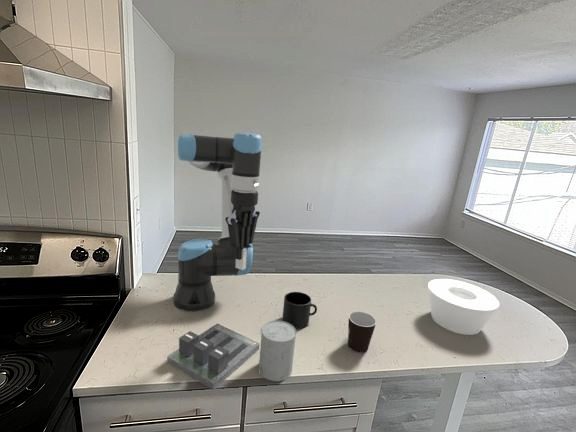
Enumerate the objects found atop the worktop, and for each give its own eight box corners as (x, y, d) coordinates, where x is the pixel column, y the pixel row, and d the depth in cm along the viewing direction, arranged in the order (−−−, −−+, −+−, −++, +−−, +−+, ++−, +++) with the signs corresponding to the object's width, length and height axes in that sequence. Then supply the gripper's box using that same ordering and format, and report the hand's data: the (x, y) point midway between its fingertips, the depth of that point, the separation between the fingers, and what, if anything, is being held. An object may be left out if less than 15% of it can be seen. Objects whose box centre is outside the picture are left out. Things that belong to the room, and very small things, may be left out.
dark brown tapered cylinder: (366, 358, 100) (371, 330, 97) (340, 347, 104) (344, 319, 101) (377, 340, 109) (382, 313, 107) (353, 330, 114) (357, 304, 111)
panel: (167, 362, 91) (167, 356, 90) (216, 328, 108) (217, 323, 107) (213, 390, 83) (213, 383, 82) (259, 349, 100) (259, 343, 99)
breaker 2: (193, 359, 90) (193, 344, 88) (204, 351, 93) (204, 337, 92) (202, 364, 88) (203, 349, 87) (213, 356, 91) (213, 342, 90)
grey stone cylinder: (258, 356, 96) (261, 320, 93) (290, 357, 97) (294, 321, 94) (258, 381, 87) (261, 341, 84) (294, 381, 88) (298, 342, 85)
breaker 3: (208, 368, 87) (208, 353, 86) (218, 360, 90) (218, 345, 89) (218, 374, 85) (218, 358, 84) (228, 365, 89) (228, 350, 87)
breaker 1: (179, 351, 92) (179, 337, 91) (189, 344, 95) (190, 330, 94) (187, 356, 90) (188, 342, 89) (198, 349, 94) (198, 335, 93)
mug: (318, 329, 112) (321, 305, 110) (283, 328, 111) (285, 305, 109) (313, 314, 121) (315, 292, 119) (281, 313, 120) (283, 291, 118)
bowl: (486, 316, 132) (494, 289, 129) (495, 349, 110) (504, 318, 107) (423, 299, 141) (429, 273, 138) (420, 326, 120) (426, 297, 117)
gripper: (240, 195, 84) (236, 279, 90) (269, 189, 95) (263, 264, 101) (218, 190, 87) (215, 271, 94) (248, 185, 98) (244, 258, 104)
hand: (240, 268), depth 97 cm, fingers closed
